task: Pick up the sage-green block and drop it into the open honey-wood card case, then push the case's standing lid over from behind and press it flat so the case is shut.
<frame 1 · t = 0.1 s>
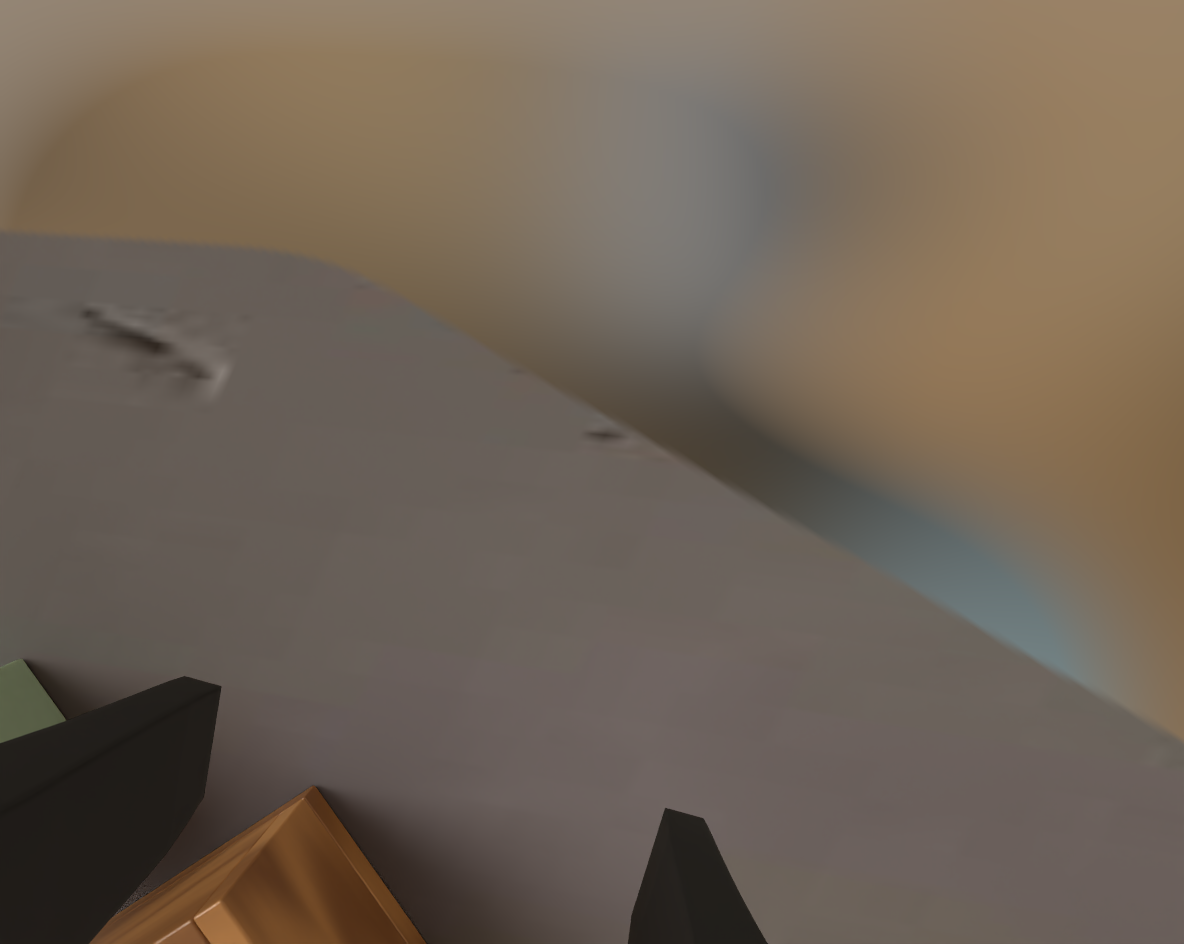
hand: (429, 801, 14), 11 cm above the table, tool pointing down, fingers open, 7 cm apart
sage block: (9, 753, 25), on the table
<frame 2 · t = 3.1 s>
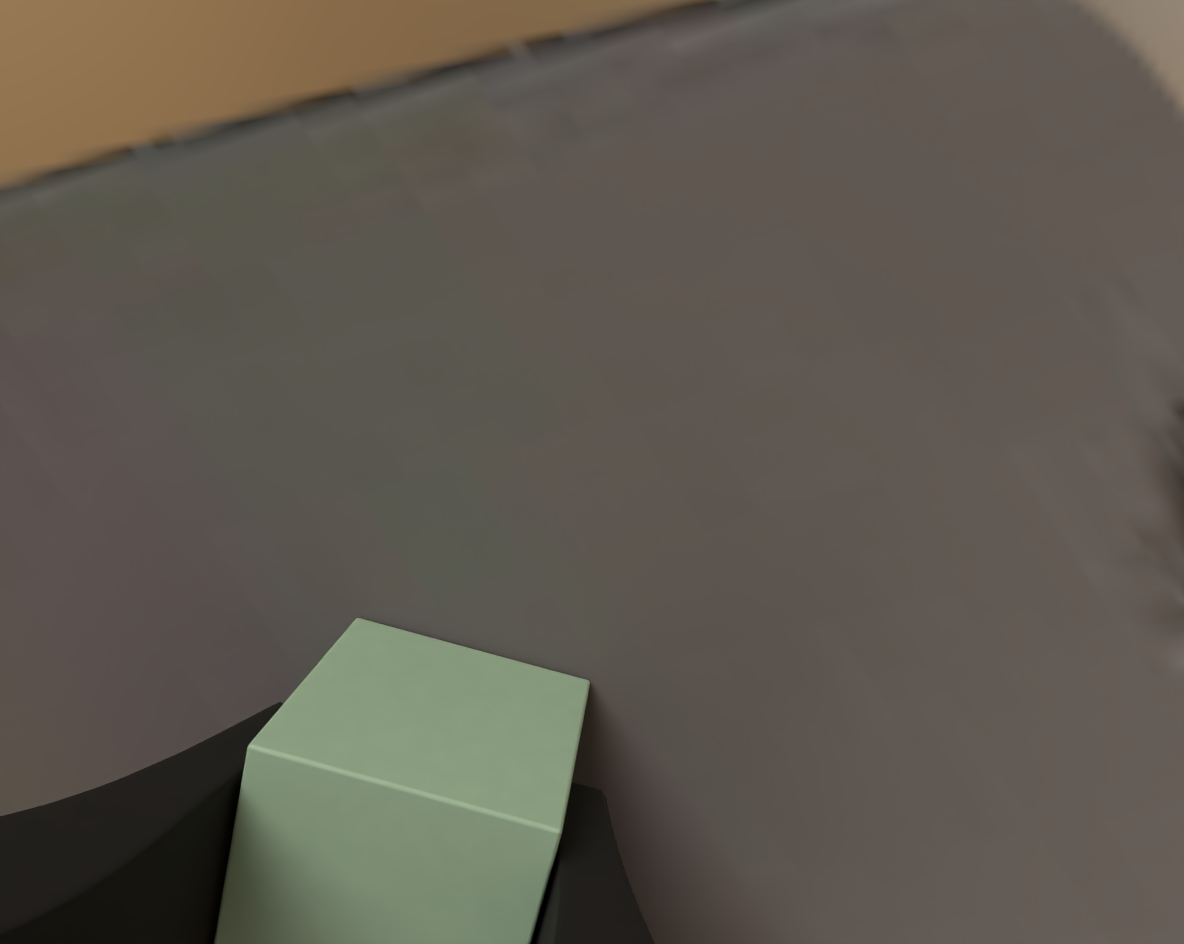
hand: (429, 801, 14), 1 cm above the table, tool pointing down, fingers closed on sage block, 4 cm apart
sage block: (448, 752, 15), on the table, touching gripper
when the fingers open (6 cm above the table, at t = 7.2 s): sage block drops 4 cm, resting on case.
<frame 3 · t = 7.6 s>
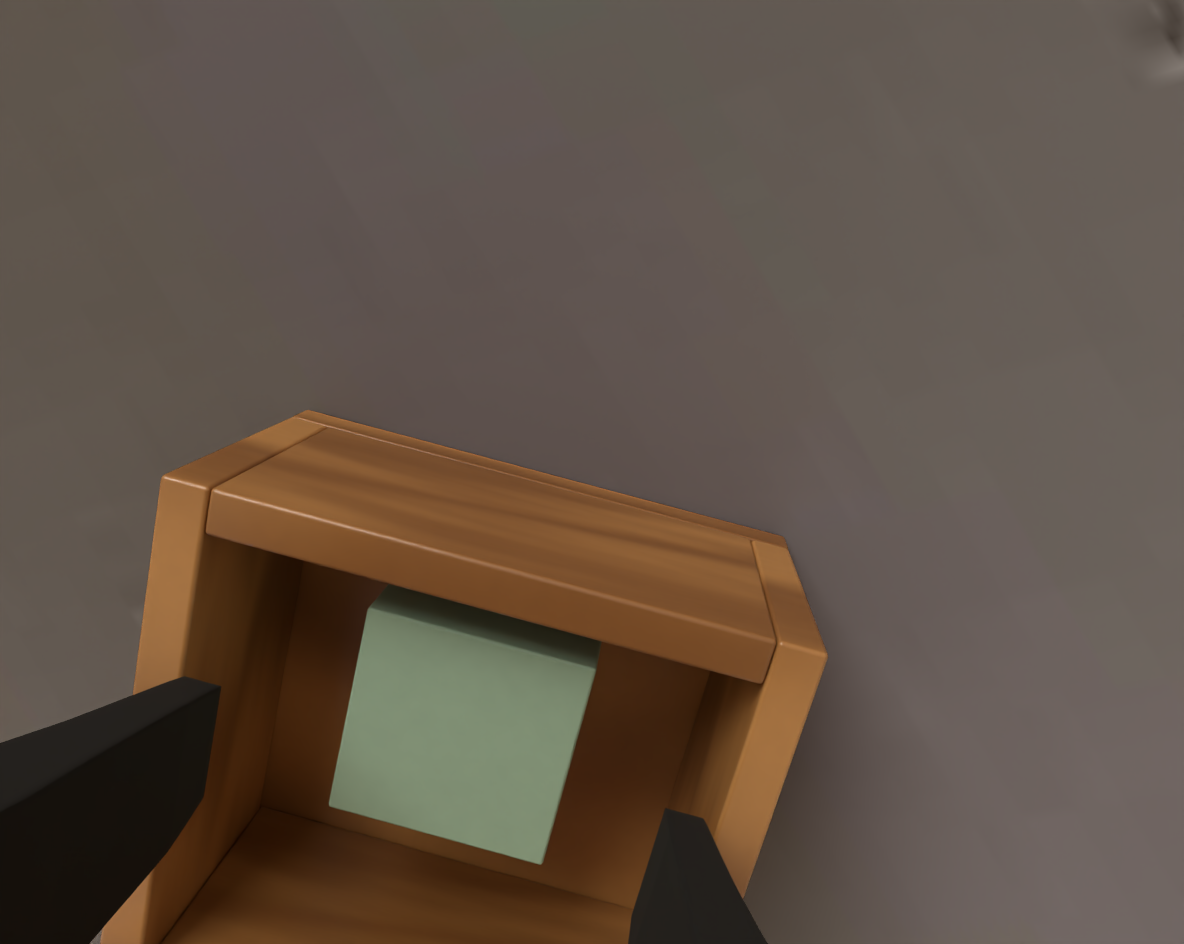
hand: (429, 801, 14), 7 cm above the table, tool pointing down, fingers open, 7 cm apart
sage block: (499, 643, 20), point 1 cm above the table, touching case
case: (493, 679, 21), on the table
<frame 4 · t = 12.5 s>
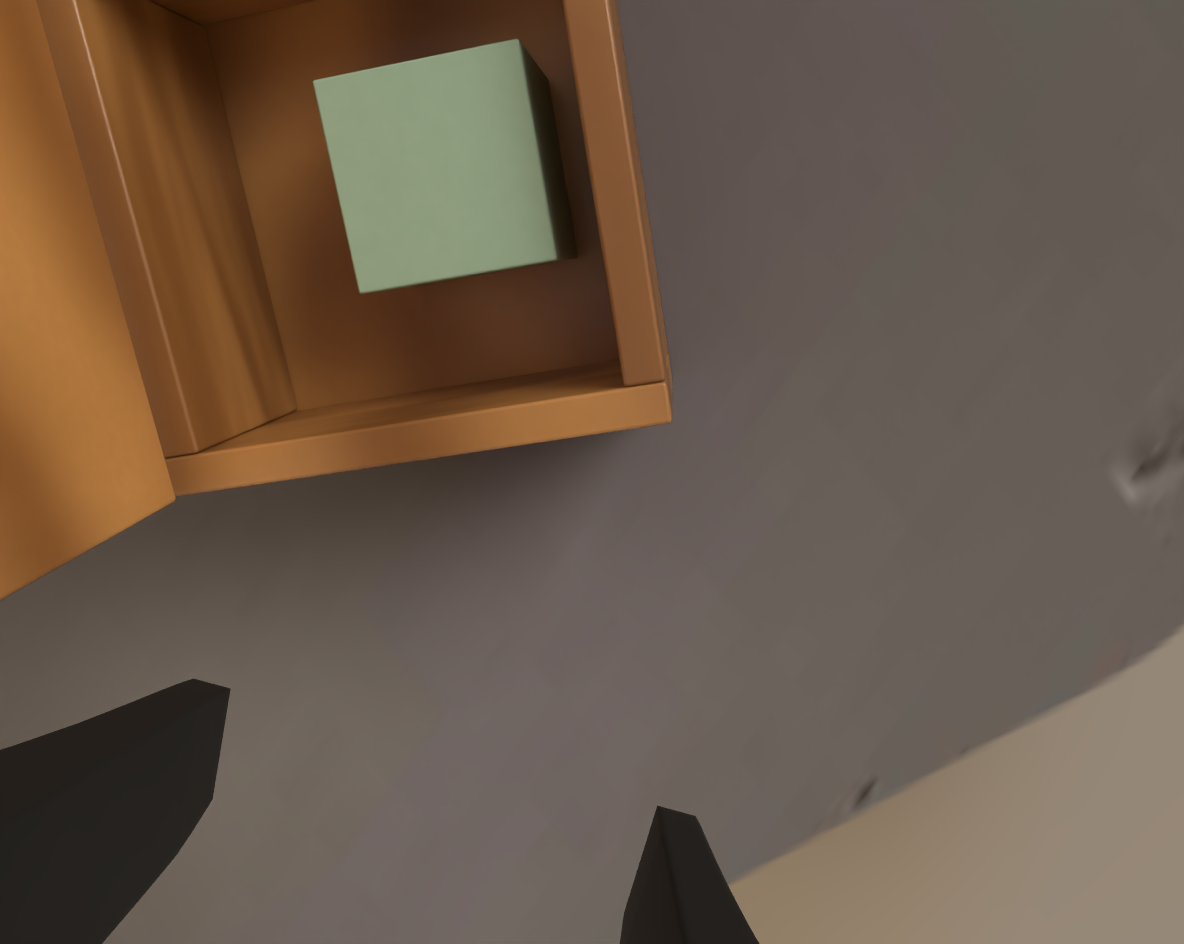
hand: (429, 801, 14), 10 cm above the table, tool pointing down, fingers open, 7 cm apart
sage block: (479, 185, 21), point 1 cm above the table, touching case
case: (433, 196, 22), on the table
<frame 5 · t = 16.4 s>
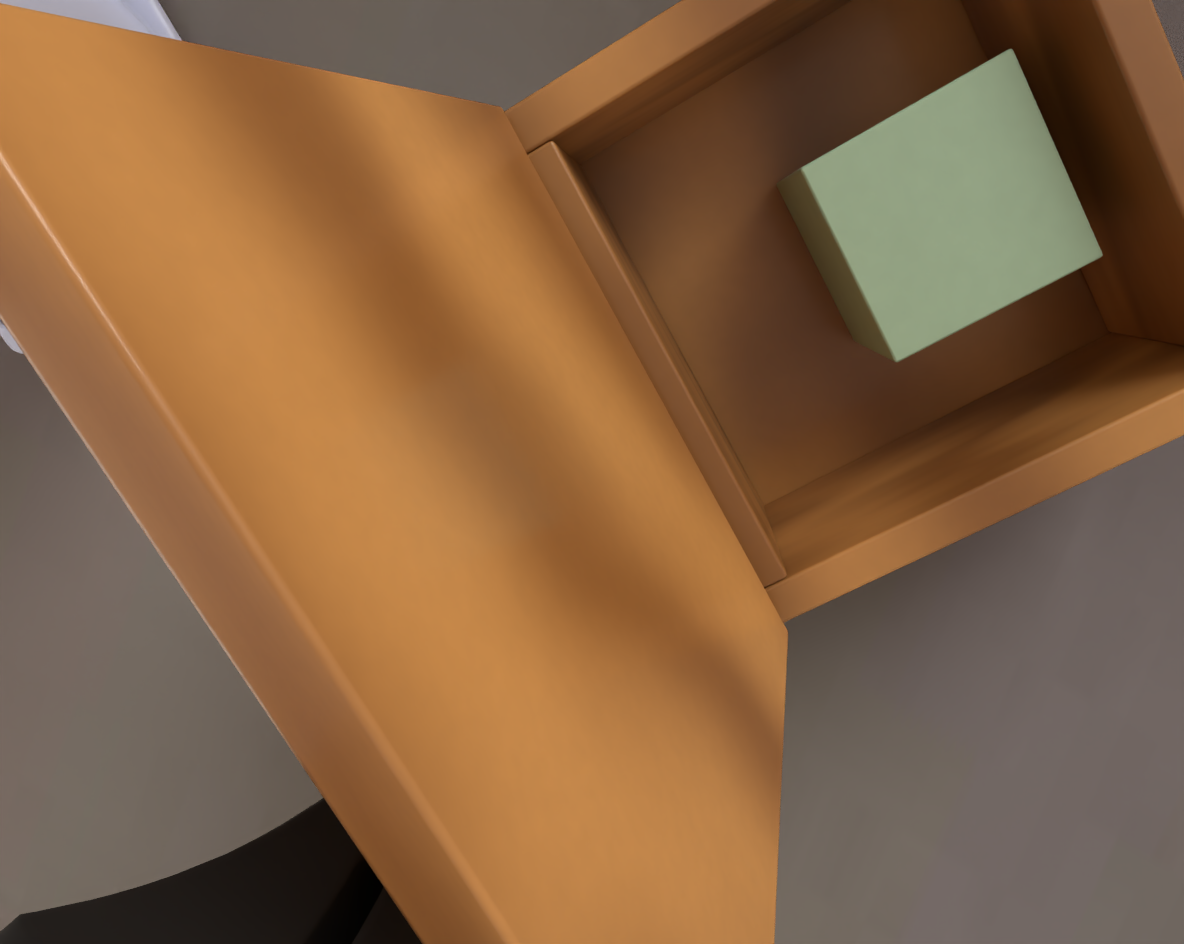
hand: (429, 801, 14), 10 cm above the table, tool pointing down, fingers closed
sage block: (898, 219, 20), point 1 cm above the table, touching case
case lid: (557, 493, 11), point 12 cm above the table, hinge at 99.0°, touching gripper
case: (837, 248, 21), on the table
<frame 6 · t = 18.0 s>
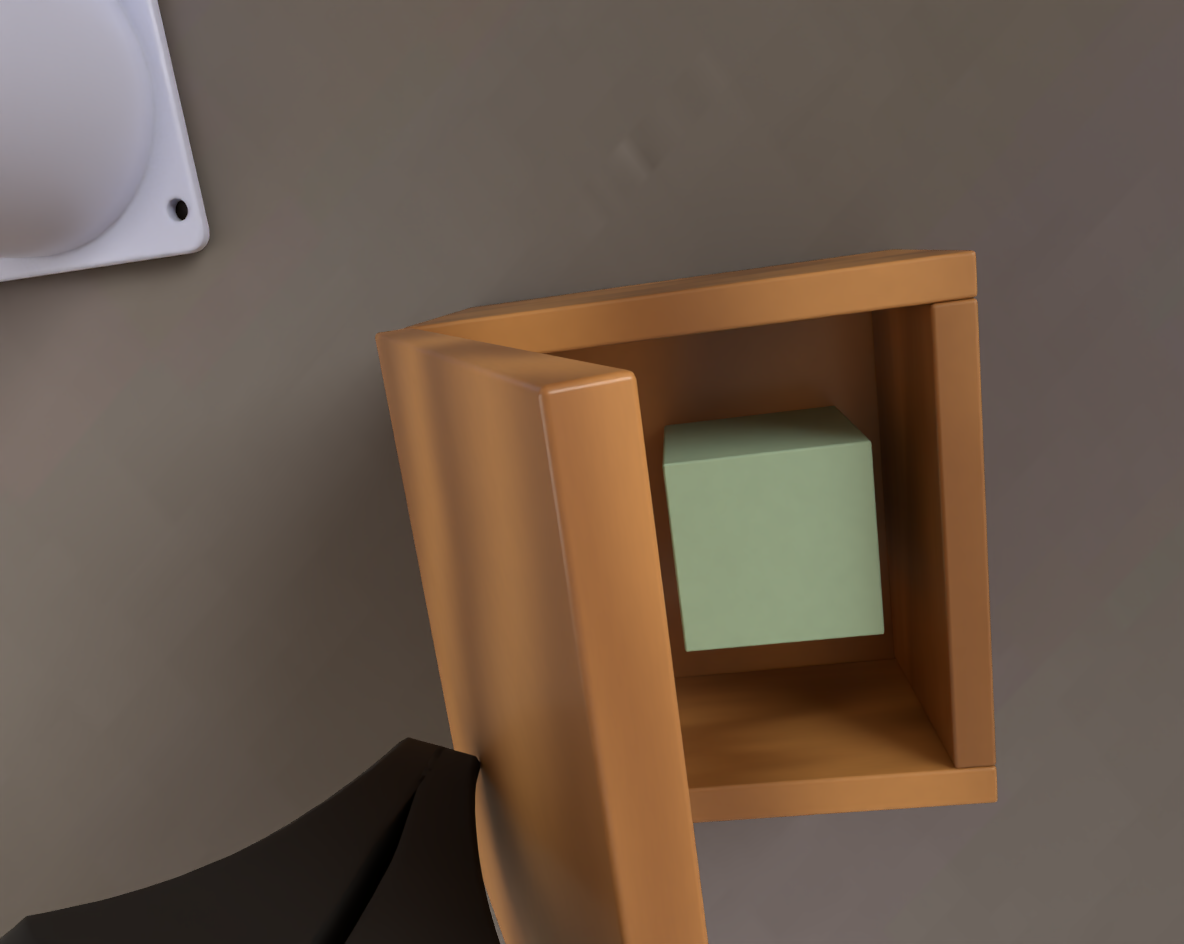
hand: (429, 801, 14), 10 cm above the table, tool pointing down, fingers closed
sage block: (756, 496, 22), point 1 cm above the table, touching case
case lid: (514, 735, 12), point 11 cm above the table, hinge at 66.0°, touching gripper
case: (701, 493, 23), on the table
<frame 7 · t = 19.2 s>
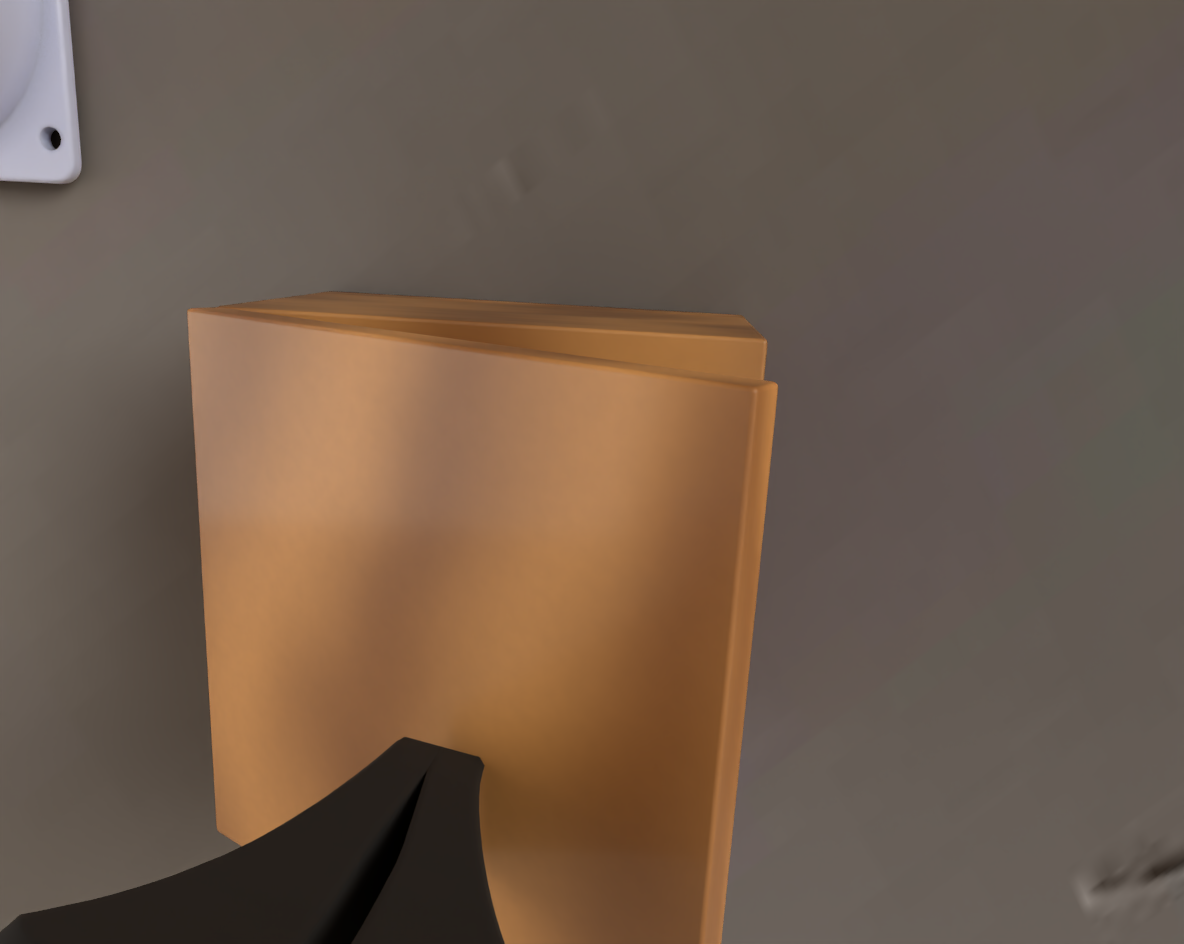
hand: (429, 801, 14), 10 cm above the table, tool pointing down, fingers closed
case lid: (422, 666, 15), point 9 cm above the table, hinge at 29.0°, touching gripper
case: (525, 512, 23), on the table
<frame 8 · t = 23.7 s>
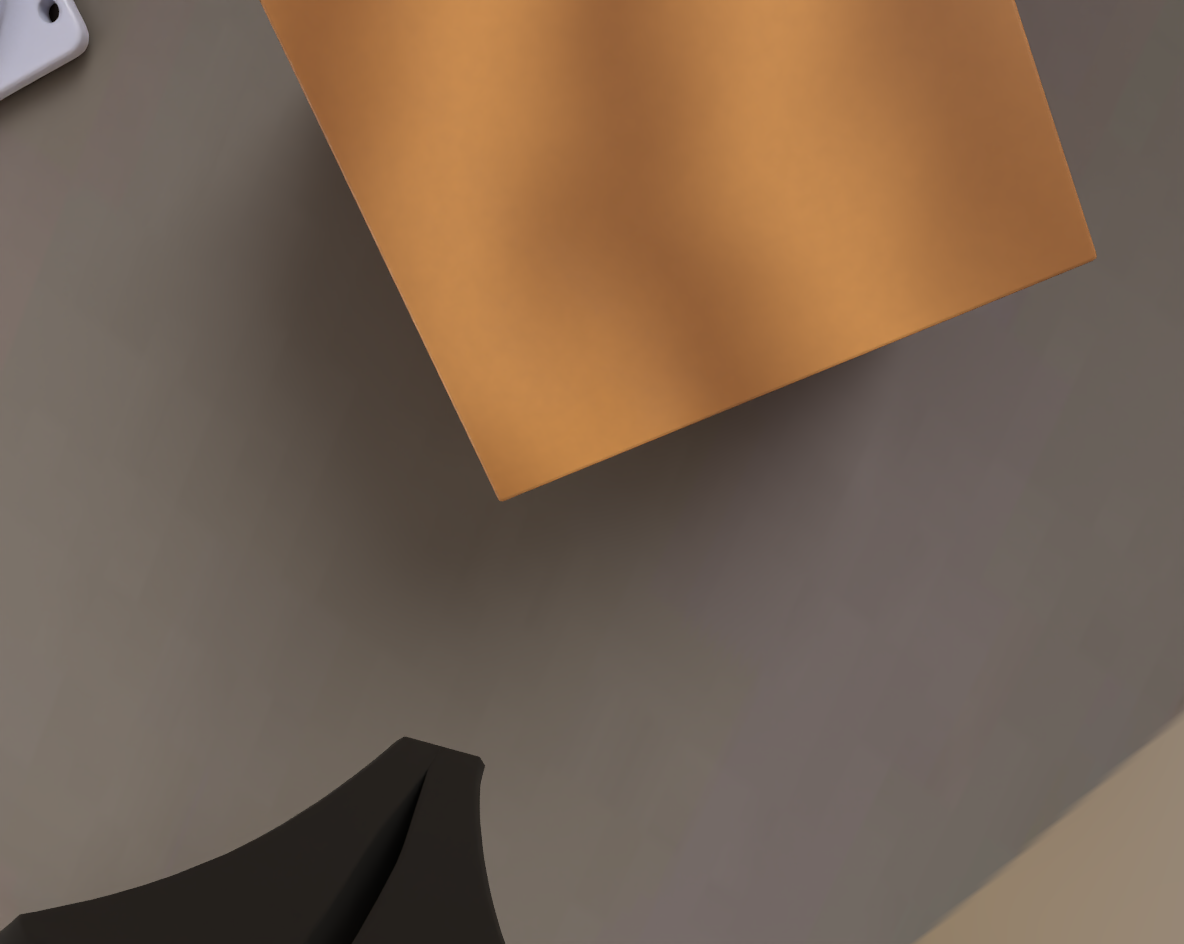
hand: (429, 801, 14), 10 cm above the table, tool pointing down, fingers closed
case lid: (658, 95, 15), point 6 cm above the table, hinge at 2.0°
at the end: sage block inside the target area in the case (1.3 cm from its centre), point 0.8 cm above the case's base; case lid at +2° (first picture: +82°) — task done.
